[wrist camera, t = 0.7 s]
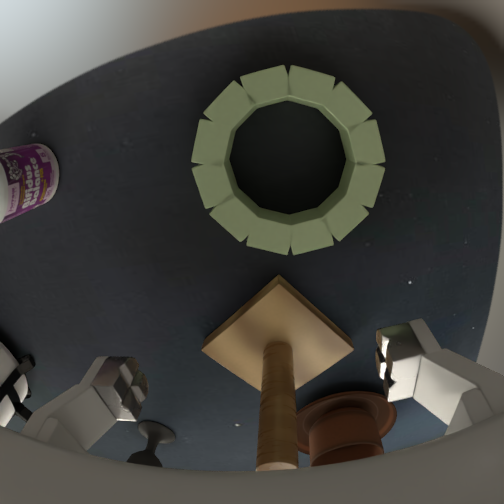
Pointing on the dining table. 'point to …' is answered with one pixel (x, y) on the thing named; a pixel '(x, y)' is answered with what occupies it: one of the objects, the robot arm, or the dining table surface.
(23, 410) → the coffee press
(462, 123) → the dining table surface
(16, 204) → the pill bottle
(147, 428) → the sundae
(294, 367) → the hanger post
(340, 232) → the ring
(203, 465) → the dining table surface
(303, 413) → the cup and saucer
